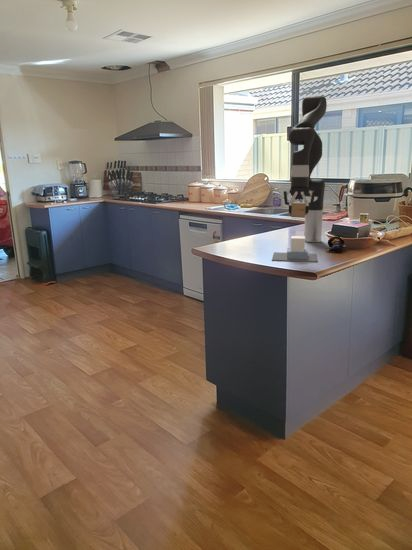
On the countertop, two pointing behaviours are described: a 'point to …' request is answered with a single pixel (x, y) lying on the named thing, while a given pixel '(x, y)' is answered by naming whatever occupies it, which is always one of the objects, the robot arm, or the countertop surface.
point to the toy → (335, 244)
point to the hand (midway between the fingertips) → (298, 214)
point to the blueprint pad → (284, 257)
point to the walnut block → (298, 209)
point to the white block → (297, 243)
